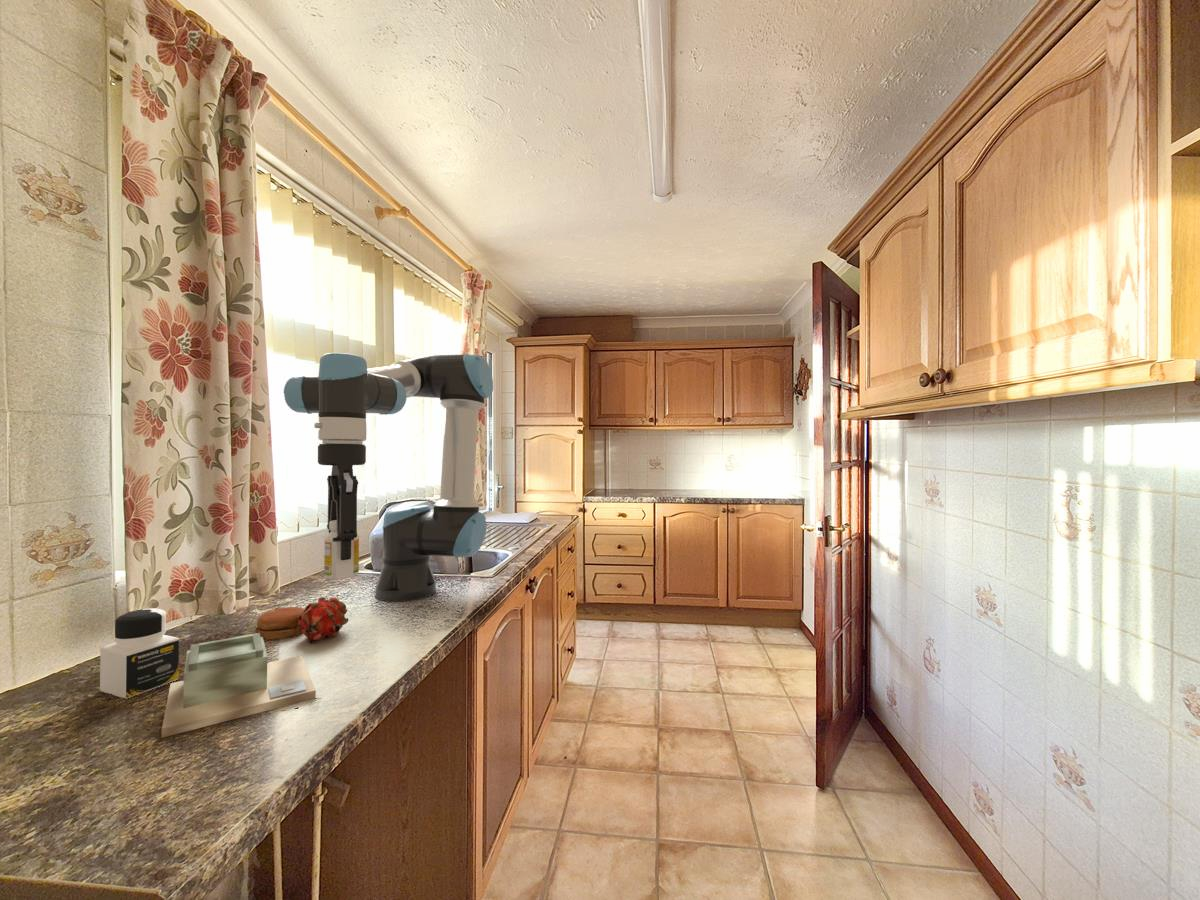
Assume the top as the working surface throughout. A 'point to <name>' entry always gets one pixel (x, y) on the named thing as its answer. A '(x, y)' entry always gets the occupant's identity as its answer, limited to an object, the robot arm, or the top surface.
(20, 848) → the top surface
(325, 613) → the dragon fruit
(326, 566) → the supplement bottle
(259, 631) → the burger
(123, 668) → the medicine bottle
